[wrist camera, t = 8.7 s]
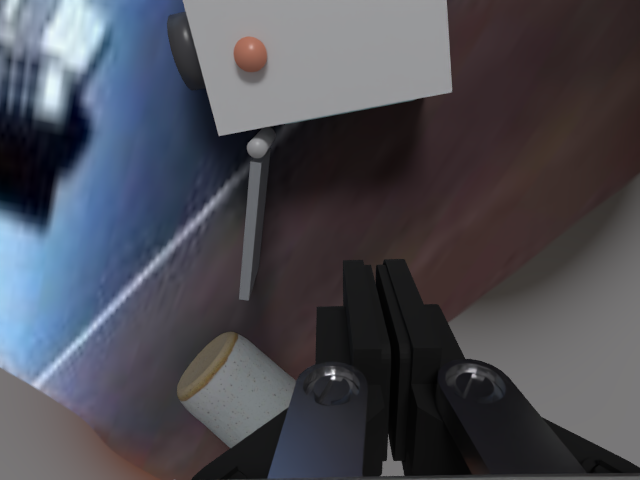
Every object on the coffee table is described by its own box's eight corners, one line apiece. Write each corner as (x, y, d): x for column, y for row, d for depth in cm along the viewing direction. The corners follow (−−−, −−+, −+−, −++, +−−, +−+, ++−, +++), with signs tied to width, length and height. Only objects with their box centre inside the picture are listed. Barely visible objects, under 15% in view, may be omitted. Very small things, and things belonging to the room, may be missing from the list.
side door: (262, 266, 36) (251, 302, 30) (248, 264, 36) (235, 300, 30) (276, 128, 31) (267, 140, 26) (260, 125, 31) (247, 137, 26)
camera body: (415, -40, 28) (445, -75, 21) (425, 90, 31) (455, 95, 24) (185, 8, 29) (145, -11, 22) (217, 129, 32) (191, 144, 25)
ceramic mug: (238, 311, 37) (218, 368, 30) (303, 365, 40) (298, 431, 33) (164, 375, 40) (129, 442, 33) (228, 423, 42) (208, 495, 35)
